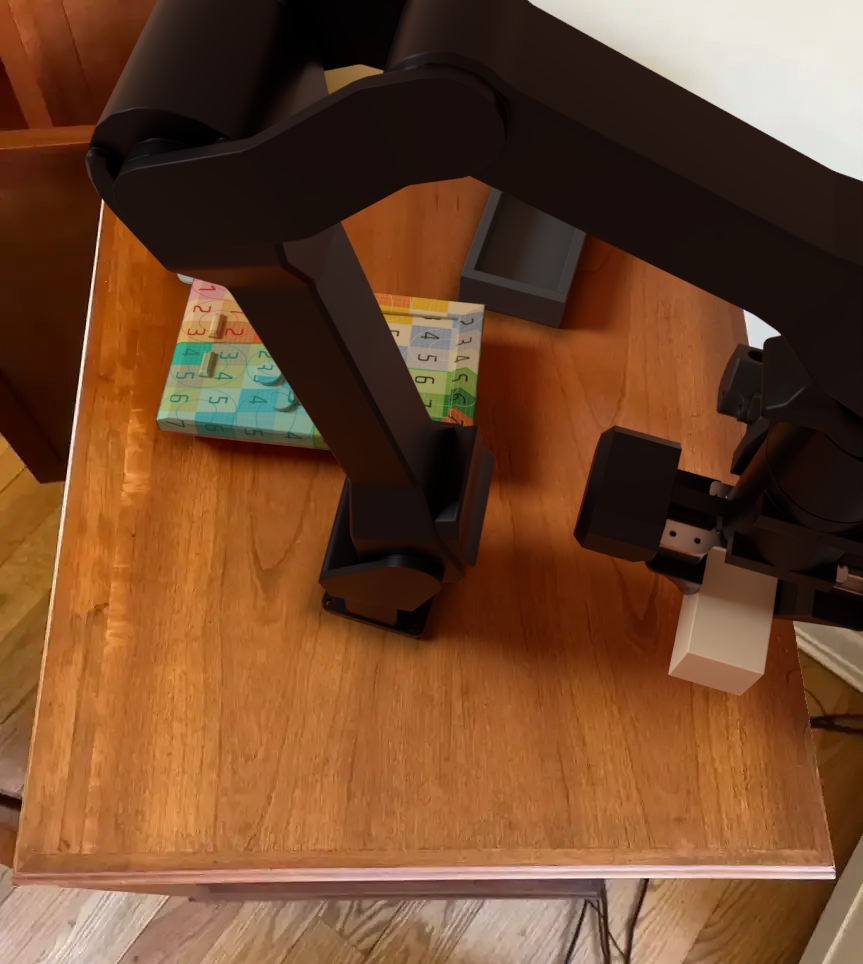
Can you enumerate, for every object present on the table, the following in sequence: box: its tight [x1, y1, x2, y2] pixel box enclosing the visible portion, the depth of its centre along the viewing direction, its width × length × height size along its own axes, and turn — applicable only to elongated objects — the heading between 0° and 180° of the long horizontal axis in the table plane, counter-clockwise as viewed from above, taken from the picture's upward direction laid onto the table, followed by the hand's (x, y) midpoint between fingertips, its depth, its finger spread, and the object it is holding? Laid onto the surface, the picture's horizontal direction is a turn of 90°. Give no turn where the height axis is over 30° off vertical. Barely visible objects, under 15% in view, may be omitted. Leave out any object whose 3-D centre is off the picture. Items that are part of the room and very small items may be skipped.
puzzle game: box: [155, 278, 486, 451], centre depth 68 cm, size 12×5×20 cm
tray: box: [457, 187, 588, 329], centre depth 75 cm, size 14×8×3 cm, turn 163°
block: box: [668, 532, 778, 697], centre depth 56 cm, size 4×4×10 cm
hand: (724, 597), depth 56 cm, fingers closed on block, 4 cm apart
